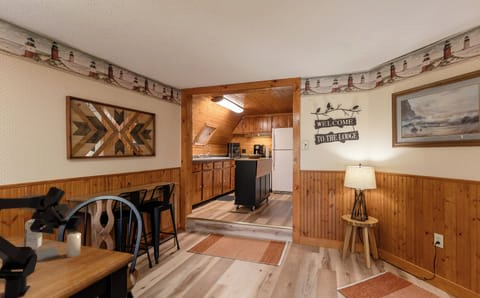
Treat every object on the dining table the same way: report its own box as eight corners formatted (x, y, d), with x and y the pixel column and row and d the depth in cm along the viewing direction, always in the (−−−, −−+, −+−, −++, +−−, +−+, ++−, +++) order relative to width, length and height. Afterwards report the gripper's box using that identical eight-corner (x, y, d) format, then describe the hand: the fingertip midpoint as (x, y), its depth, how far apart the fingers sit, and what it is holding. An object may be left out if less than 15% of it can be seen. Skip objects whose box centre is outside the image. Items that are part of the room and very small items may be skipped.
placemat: (59, 256, 113) (60, 255, 113) (29, 263, 105) (29, 262, 105) (53, 247, 124) (53, 246, 124) (25, 253, 116) (25, 252, 116)
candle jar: (79, 255, 114) (80, 235, 114) (65, 258, 112) (66, 237, 112) (80, 251, 119) (81, 232, 119) (67, 253, 117) (68, 233, 117)
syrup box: (28, 246, 125) (29, 219, 125) (42, 245, 127) (43, 218, 127) (23, 250, 119) (24, 222, 120) (37, 249, 122) (38, 221, 122)
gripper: (80, 199, 105) (92, 217, 115) (35, 199, 103) (52, 217, 114) (68, 221, 97) (83, 239, 107) (20, 222, 95) (39, 239, 106)
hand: (64, 233), depth 109 cm, fingers open, 9 cm apart
